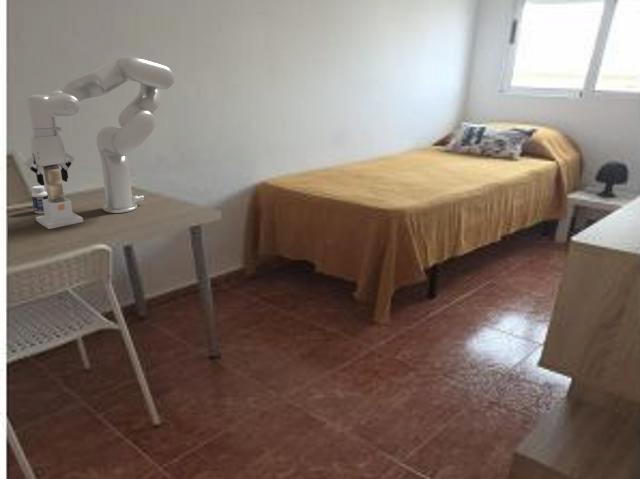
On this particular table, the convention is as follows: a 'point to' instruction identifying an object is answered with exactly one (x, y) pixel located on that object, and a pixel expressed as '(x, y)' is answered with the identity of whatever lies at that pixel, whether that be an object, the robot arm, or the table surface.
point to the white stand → (58, 214)
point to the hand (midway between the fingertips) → (53, 182)
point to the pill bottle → (38, 198)
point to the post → (53, 182)
